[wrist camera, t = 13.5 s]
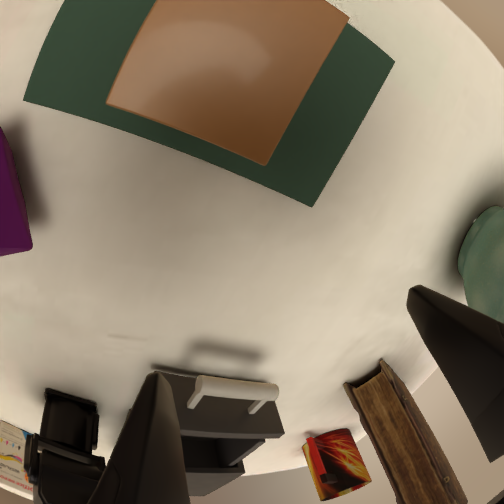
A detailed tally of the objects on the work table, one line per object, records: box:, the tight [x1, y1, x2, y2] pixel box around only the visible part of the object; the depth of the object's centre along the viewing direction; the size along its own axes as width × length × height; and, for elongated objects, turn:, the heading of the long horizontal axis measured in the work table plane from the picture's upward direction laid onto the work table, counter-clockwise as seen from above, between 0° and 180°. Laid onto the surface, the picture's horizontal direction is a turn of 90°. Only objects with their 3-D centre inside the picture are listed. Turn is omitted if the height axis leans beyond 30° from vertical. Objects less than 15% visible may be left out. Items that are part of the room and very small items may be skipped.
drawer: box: [153, 371, 285, 468], centre depth 26 cm, size 18×12×6 cm
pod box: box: [106, 0, 349, 166], centre depth 10 cm, size 4×5×10 cm
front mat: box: [23, 0, 395, 207], centre depth 13 cm, size 20×12×1 cm, turn 63°
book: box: [344, 360, 468, 504], centre depth 28 cm, size 17×7×25 cm, turn 36°
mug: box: [302, 429, 372, 501], centre depth 41 cm, size 10×14×12 cm
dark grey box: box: [123, 409, 245, 496], centre depth 31 cm, size 15×14×8 cm
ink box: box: [0, 421, 41, 500], centre depth 26 cm, size 9×8×12 cm
